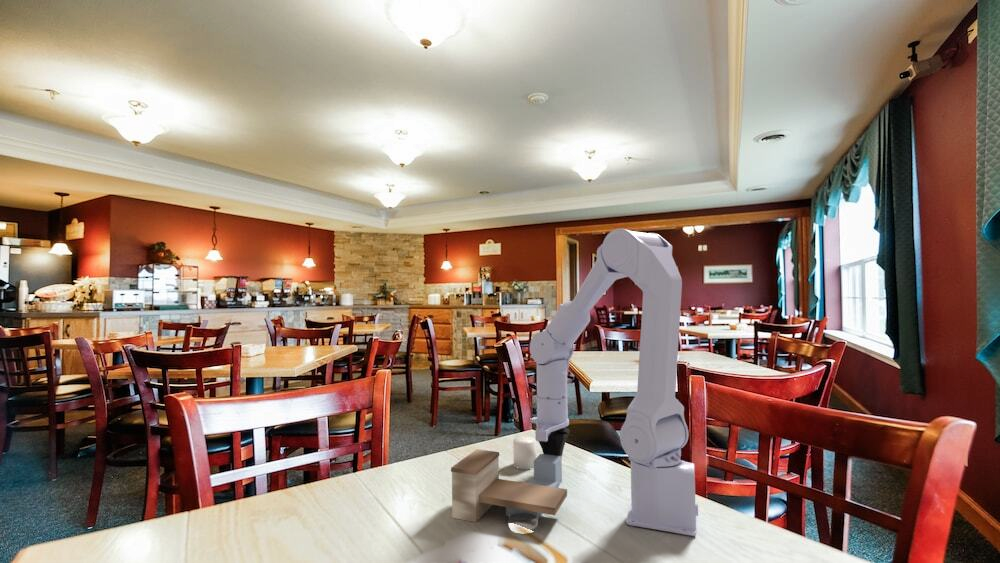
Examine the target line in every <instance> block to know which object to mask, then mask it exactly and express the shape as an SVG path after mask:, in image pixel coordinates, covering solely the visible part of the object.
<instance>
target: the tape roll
mask: <svg viewBox="0 0 1000 563" xmlns="http://www.w3.org/2000/svg"><path fill="white" fill-rule="evenodd" d="M508 523H514V524H517V525H520V526H522V527H525V528H527V529H530V530H532V531H534V532H533V533H535V532H536V531H537V530H538V528H539V519H537V517H536V516H534V515H532V514H529V513H516V514H513V515H511V516H508V518H507V524H508Z"/></svg>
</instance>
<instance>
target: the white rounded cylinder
mask: <svg viewBox="0 0 1000 563" xmlns="http://www.w3.org/2000/svg"><path fill="white" fill-rule="evenodd" d="M512 441H513V442H512V443H513V446H512V447H513V450H512V452H513V453H512V454H513V467H514V466H515V467H518V468H522V469H521V470H531V469H530V468H533V469H534V460H535V459H536V458H537V441H536V437H531V436H518V437H516V438H513V440H512ZM515 467H514V468H515ZM518 468H517V469H518Z"/></svg>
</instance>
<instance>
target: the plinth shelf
mask: <svg viewBox="0 0 1000 563" xmlns="http://www.w3.org/2000/svg"><path fill="white" fill-rule="evenodd" d="M499 457H500V451H494V450H485V449H475V450H474V451H472V452H471V453H469V454H468V455H466V456H465V457H463V459H461V460H460V461H458V462H457V463H455V464H454V465H453V466H451V467H450V472H451V498H452V499H451V515H452V516H451V517H452V519H457V520H461V521H462V520H463V521H468V522H472V523H477V522H478V521H479V520H480V518H481V517H482V516H483V515H485V513H486V512H487V511H488V510H489V509H490V508H491V507H492V506H499V507H505V508H506V507H510V508H516V509H521V510H527V511H533V512H539V513H542V514H545V515H551V516H556V515H557V512H558V511H559V509H560V508H561V506H562V505H563V503H564V501H565V500H566V498H567V497H568V488H567V489H566V488H561V487H559V488H556V487H549V486H543V485H536V484H530V483H527V482H521V481H515V480H508V479H503V478H500V473H499V472H500V471H499V470H500V468H499V466H500V465H499V460H500V459H499Z"/></svg>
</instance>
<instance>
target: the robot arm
mask: <svg viewBox="0 0 1000 563" xmlns="http://www.w3.org/2000/svg"><path fill="white" fill-rule="evenodd" d="M624 278H629V279H630V280H631V281H632V282H633V283H634V284H635V285H636V286H637V287H638V288H639V289H640V290H641V291H642V306H641V308H642V309H641V324H640V325H641V326H640V338H639V339H640V340H639V356H638V372H637V388H636V389H637V392H636V395H635V396H634V397H633V399H632V401H631V402H630V403H629V405H628V407H627V408H626V418H625V421H624V422H623V424H622V426H621V428H620V431H619V432H620V433H619V440H620V444H621V447H622V449H623V451H624V452H625V454H626V455H627V456H628V461H630V486H631V487H630V489H631V490H630V491H631V494H630V495H631V496H630V498H631V502H630V506H629V510H628V512H627V517H626V520H625V523H626V524H627V525H629V526H634V527H639V528H646V529H651V530H657V531H662V532H663V531H664V532H669V533H674V534H680V535H686V536H693V537H695V536H696V535H697V518H696V517H699V503H698V502H697V501H696V480H695V479H696V478H695V477H696V475H695V474H696V473H695V472H696V470H695V469H696V468H695V463H694V462H688V461H685V460H683V459H682V460H681V456H682V448H684V447H685V446H686V445H687V443H688V440H689V429H688V428H689V427H688V425H687V423H686V419H685V406H684V405H683V404H682V403H681V402H680V400H678V399H677V398H676V387H677V386H676V385H677V372H678V356H679V355H678V354H679V341H680V340H679V338H680V325H681V324H680V322H681V307H682V306H681V305H682V303H681V302H682V292H683V290H682V288H683V279H682V276H681V274H680V271H679V269H678V266H677V264H676V262H675V259H674V257H673V245H672V244H671V243H670V242H669V241H667V240H666V239H665V238H664V237H662V236H661V235H660V234H658V233H655V232H648V233H647V232H641V231H636V230H634V231H633V230H628V229H626V228H615V229H613V230H611V231H609V233H608V234H607V235H606V236H605V237H604V240H603V242H602V244H601V245H599V246H598V247H597V250H596V260H595V262H594V264H593V266H592V267H591V269H590V271H589V272H588V274H587V276H586V277H585V279H584V280H583V283H581V286H580V287H579V289H578V291H577V293H576V295H575V296H574V298H573V299H572V300H571V301H570V300H567V301H564V302H563V303H561V304H560V303H559V305H558V306H557V309H556V310H557V311H556V313H555V314H554V316H553V317H552V319H551V320H550V321H549V323H548V324H546V326H545V329H543V330H542V331H539V332H535V333H534V334H533V335H532V338H531V340H530V343H529V353H530V355H531V357H532V360H533V361H534V362H535V363H536V413H537V414H536V416H533V417H532V418H531V419H530V420H531V423H532V424H535V425H536V428H535V439H536V442H538V444H539V446H540V447H541V450H542V454H547V455H555V456H561V457H562V458H563V453H564V448H565V444H566V442H567V440H568V439H567V438H568V437H569V434H571V433H570V429H569V428H567V427H568V426H569V425H570V420H569V412H568V410H569V408H568V405H569V404H568V402H569V401H568V370H569V368H570V361H571V358H572V357H573V354H574V349H575V348H574V345H575V344H574V343H575V342H576V341H577V340H578V338H579V337H580V335H581V334H582V333H583V332H584V330H585V329H586V328H587V326H588V325H589V323H590V322H591V315H590V311H591V310H592V309H593V307H594V306H595V305H596V304H597V303H598V302H599V301H600V299H601V298H602V297H603V296H604V295H605V293H606V292H607V291H608V290H609V289H610V287H611V286H612V285H613V284H614V283H615V281H617V280H620V279H624Z"/></svg>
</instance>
